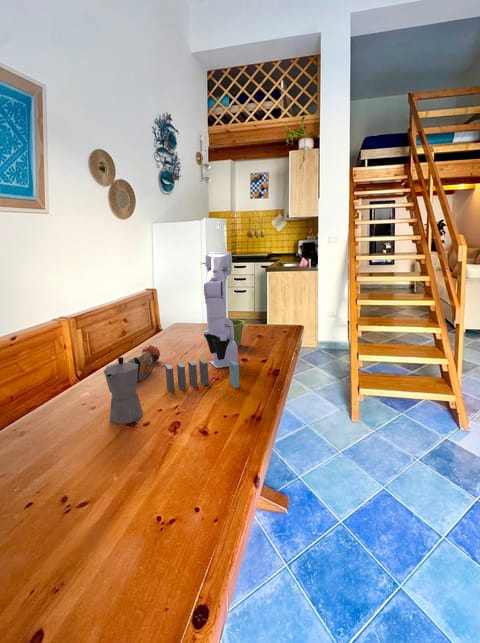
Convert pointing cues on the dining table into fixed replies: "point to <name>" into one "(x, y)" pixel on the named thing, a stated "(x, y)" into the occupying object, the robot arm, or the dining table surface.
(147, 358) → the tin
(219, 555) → the dining table surface
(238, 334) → the plant pot
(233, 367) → the teal domino
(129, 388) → the coffeepot
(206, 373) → the domino
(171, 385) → the domino
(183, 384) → the domino
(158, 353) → the pomegranate
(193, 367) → the domino
